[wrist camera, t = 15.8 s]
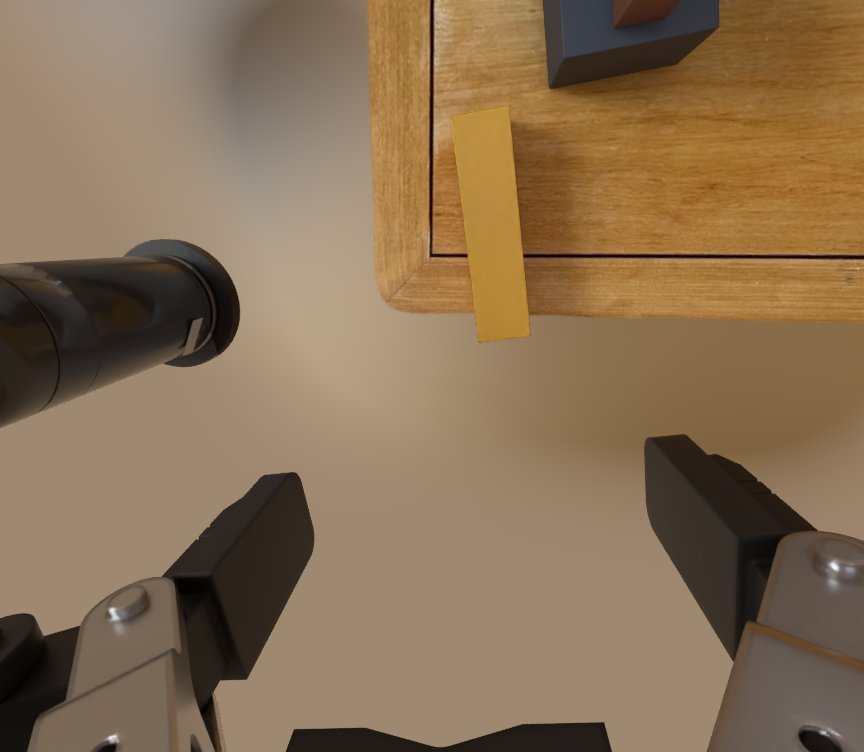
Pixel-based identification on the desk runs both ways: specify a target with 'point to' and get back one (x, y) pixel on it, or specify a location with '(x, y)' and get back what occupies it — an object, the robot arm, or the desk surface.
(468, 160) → the bar
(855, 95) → the desk surface
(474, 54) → the desk surface
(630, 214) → the desk surface
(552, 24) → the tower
